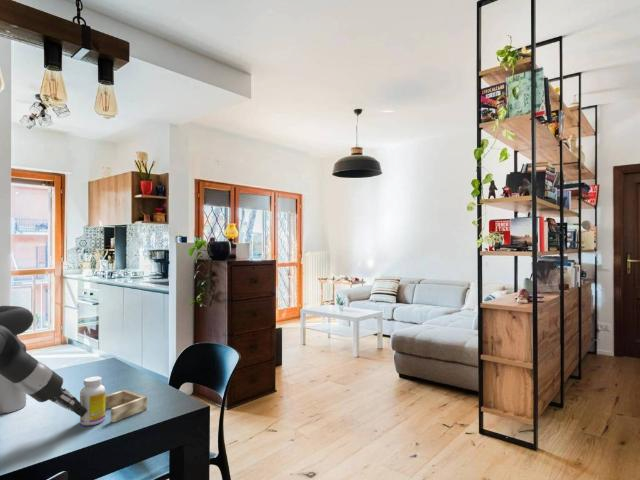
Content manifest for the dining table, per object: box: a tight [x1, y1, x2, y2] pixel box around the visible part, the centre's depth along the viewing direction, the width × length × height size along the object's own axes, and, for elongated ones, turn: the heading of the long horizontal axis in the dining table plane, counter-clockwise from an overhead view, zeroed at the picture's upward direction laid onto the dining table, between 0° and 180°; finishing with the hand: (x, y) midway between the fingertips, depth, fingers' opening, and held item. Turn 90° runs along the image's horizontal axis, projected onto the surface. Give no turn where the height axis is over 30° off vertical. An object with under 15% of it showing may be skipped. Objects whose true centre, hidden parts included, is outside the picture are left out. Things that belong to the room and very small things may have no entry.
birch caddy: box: [105, 389, 148, 423], centre depth 129 cm, size 11×12×4 cm
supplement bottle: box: [79, 375, 106, 426], centre depth 122 cm, size 7×7×13 cm
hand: (83, 413), depth 118 cm, fingers closed
